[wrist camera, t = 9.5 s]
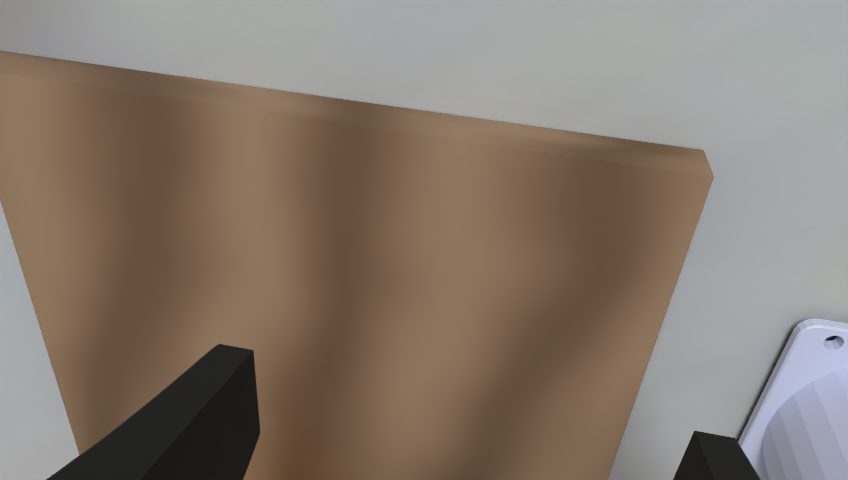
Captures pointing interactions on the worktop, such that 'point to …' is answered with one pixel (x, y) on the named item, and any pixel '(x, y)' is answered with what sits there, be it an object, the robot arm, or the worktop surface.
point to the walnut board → (344, 268)
